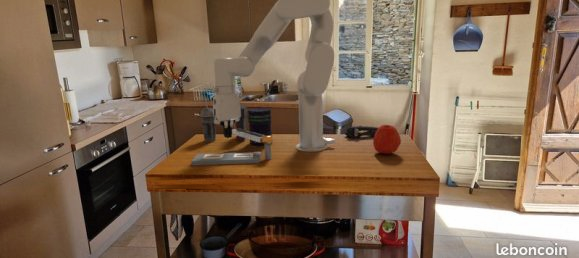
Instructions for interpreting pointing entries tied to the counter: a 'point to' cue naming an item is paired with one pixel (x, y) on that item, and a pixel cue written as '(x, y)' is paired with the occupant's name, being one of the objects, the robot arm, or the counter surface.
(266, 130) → the blue oil drum
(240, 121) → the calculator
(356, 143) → the counter surface
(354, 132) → the can opener
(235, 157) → the label board
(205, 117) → the beverage cup
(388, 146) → the apple
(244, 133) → the swing arm
